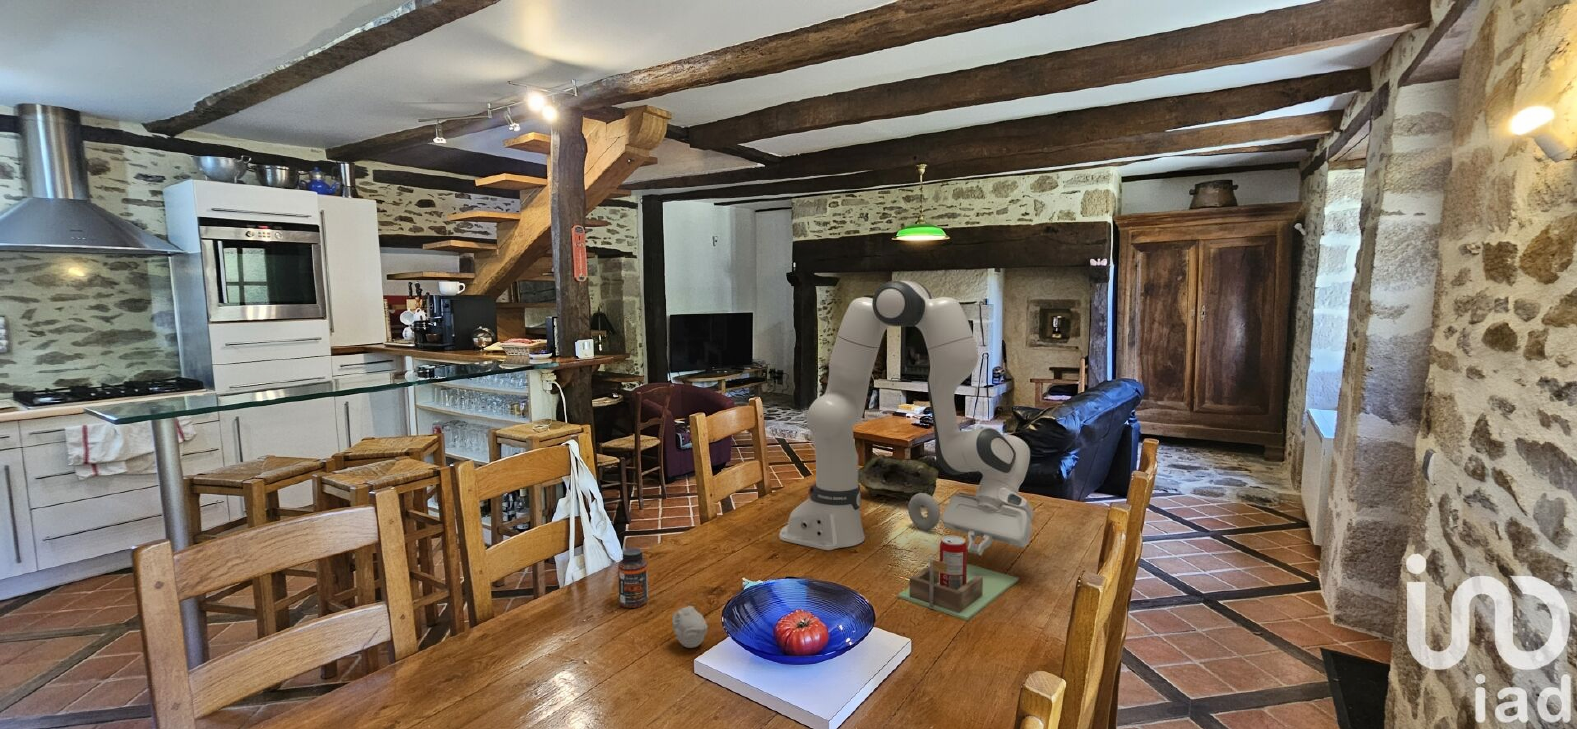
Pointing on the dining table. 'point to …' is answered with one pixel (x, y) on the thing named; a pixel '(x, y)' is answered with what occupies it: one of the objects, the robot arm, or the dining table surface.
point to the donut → (930, 506)
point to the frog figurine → (689, 627)
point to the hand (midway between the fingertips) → (974, 552)
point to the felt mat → (991, 590)
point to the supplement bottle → (632, 579)
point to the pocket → (943, 589)
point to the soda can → (953, 561)
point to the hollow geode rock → (898, 477)
